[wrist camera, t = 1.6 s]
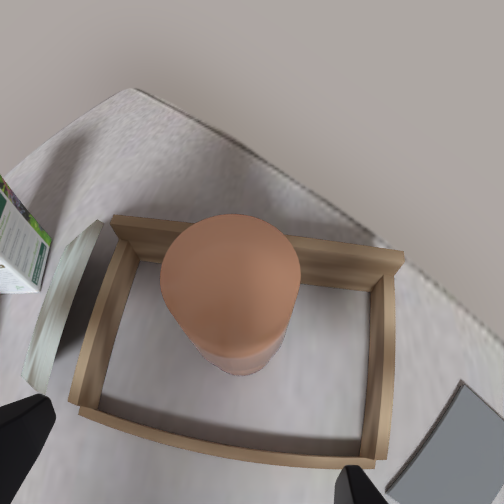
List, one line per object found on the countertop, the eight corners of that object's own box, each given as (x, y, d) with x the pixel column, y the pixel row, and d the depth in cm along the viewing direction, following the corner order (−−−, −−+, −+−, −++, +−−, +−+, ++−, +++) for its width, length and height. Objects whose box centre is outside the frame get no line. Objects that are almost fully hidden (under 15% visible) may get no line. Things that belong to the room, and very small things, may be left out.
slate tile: (459, 541, 12) (462, 542, 11) (385, 493, 16) (387, 494, 15) (522, 442, 15) (525, 442, 15) (461, 385, 19) (464, 384, 19)
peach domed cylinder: (236, 397, 20) (218, 371, 10) (187, 338, 22) (135, 264, 12) (296, 346, 21) (329, 276, 12) (245, 293, 24) (238, 194, 14)
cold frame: (367, 466, 17) (401, 476, 12) (22, 385, 19) (-23, 369, 14) (378, 285, 24) (405, 248, 19) (71, 242, 26) (43, 205, 22)
